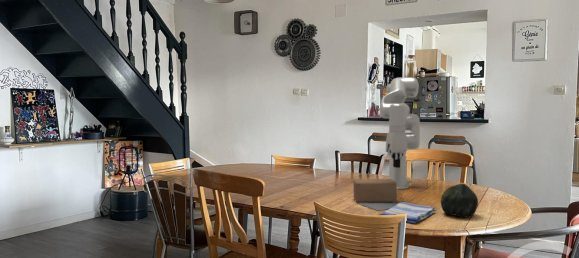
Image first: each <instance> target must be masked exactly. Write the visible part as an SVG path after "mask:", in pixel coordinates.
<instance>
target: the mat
mask: <svg viewBox="0 0 579 258" xmlns="http://www.w3.org/2000/svg"><path fill="white" fill-rule="evenodd" d="M356 204H357V205H360V206H362V207H366V208H367V209H371V210H374V211H376V212H382V211H386V210H389V209H390V208H392V207H394V206H396V205H397V204H399V202H356Z"/></svg>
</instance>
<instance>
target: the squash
mask: <svg viewBox="0 0 579 258" xmlns="http://www.w3.org/2000/svg"><path fill="white" fill-rule="evenodd" d="M440 206H441V210H442V211H443V212H444V213H445V214H446V215H450V216H454V215H455V216H459V217H461V218H470V217H472V216H473V215H475V213H476V211H477V208H478V206H479V200H478V196H477V194H476V193H475V192H474V191H473V190H472V189H471V188H470V187H469V186H468V185H467V184H465V183H459V184H456V185H452V186H450V187H448V188H446V189H445V190H444V191H443V193H442V195H441V198H440Z"/></svg>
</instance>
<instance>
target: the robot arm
mask: <svg viewBox="0 0 579 258" xmlns="http://www.w3.org/2000/svg"><path fill="white" fill-rule="evenodd" d="M419 86H420V85H419V81H418V79H417V78H416V77H413V76H412V77H411V76H410V77H407V76H406V77H405V76H404V77H396V78H393V79H392V80H391V82H390V83H389V84H387V85H386V91H385V92H386V95H384V96H383V97H382V98H381V100H380V105H379V114H380V117H381V118H382V119H389V120H388V128H389V129H388V132H387V134H386V139H385V152H386V153H387V156H388V157H389V160H388V161H389V163H388V164H389V165H388V169H389V171H388V179H392V180H394V181H395V182H396V183H397V190H406V189H409V184H412V183H413V180H412V179H407V151H408V150H418V149H419V148H420V145H421V141H420V140H421V135H420V133H421V131H420V130H421V124H420V123H421V121H420V116H419V115H418V114H416V113H410V111H411V110H410V107H409V105H408V104H406V103H405V101H406V99H407V98H409V99H410V98H416V97H417V96H418V94H419ZM406 131H410V132H406Z"/></svg>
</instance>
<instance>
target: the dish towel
mask: <svg viewBox="0 0 579 258" xmlns="http://www.w3.org/2000/svg"><path fill="white" fill-rule="evenodd" d="M436 211H437V210H436V208H435V207H434V206H428V205H421V204H414V203H410V202H405V201H404V202H403V201H402V202H398V204H397V205H396V206H394V207H392V208H390V209H389V210H384V211H383V212H381V213H379V214H378V216H379V215H396V214H403V213H407V222H406V223H408V224H414V225H416V224H417V223H419V222H420V221H422V220H424V219H426V218H428V217H430V216H431V215H433V214H434V213H436Z"/></svg>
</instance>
